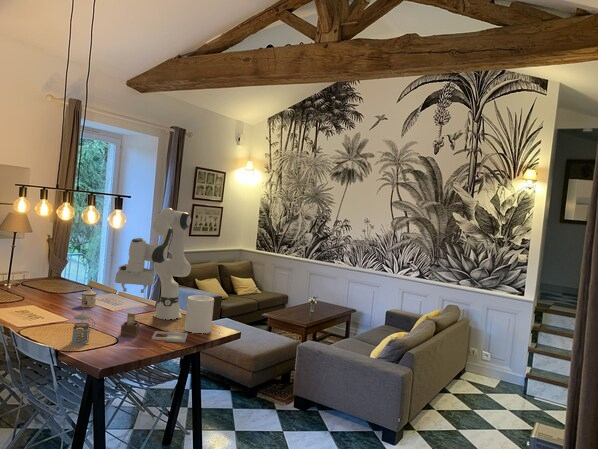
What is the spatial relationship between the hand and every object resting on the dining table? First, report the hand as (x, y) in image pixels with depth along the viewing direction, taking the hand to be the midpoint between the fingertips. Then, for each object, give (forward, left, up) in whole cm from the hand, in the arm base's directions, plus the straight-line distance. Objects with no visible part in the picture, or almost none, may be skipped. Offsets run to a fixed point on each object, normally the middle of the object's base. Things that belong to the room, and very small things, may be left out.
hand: (133, 292), depth 244 cm
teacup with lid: (-61, -40, -25) cm, 77 cm away
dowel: (0, 0, -24) cm, 24 cm away
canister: (-20, +36, -25) cm, 48 cm away
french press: (+16, -20, -25) cm, 36 cm away
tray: (0, +22, -25) cm, 33 cm away
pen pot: (0, 0, -25) cm, 25 cm away
